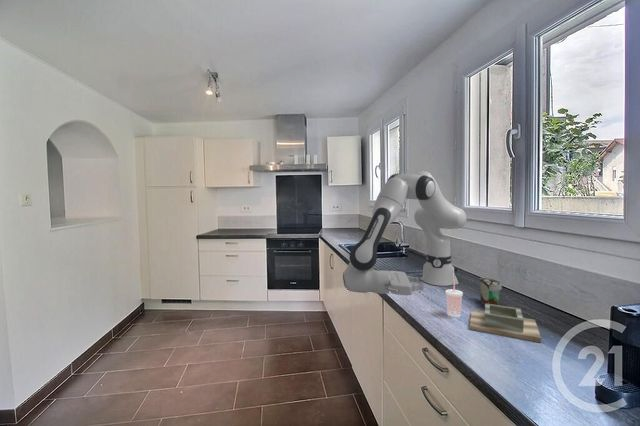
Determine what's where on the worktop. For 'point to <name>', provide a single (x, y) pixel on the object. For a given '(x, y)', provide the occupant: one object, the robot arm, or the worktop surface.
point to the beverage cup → (454, 301)
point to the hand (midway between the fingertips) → (420, 283)
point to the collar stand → (504, 323)
